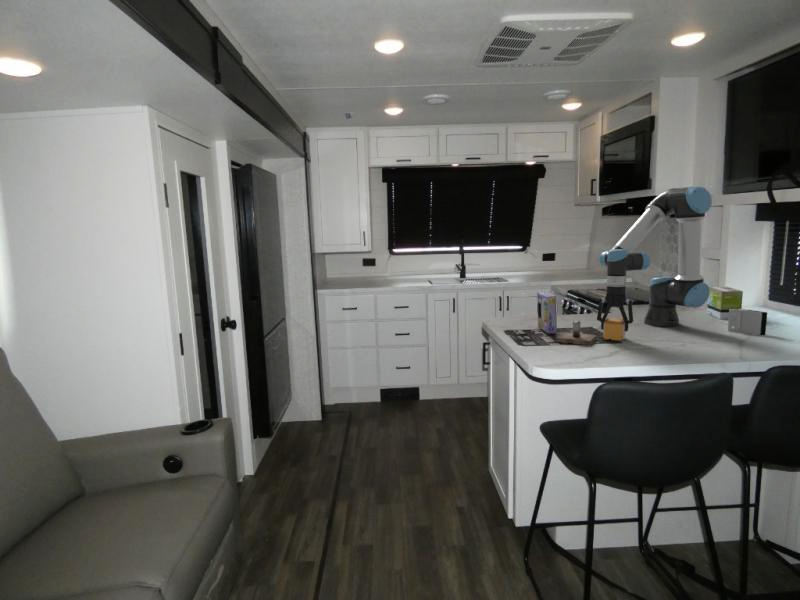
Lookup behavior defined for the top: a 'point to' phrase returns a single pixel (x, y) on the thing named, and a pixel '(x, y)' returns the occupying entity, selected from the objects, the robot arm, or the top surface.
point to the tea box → (723, 301)
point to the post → (576, 328)
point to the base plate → (576, 338)
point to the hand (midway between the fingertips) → (614, 337)
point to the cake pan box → (547, 312)
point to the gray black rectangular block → (747, 321)
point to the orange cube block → (613, 329)
